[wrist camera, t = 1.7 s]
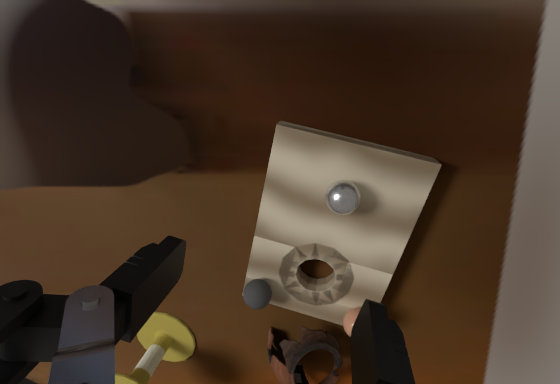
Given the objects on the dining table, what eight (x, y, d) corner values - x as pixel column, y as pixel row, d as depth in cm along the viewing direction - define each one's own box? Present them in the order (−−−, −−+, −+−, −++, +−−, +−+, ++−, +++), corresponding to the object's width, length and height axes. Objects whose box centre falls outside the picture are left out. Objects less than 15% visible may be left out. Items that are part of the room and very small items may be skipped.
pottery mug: (264, 307, 42) (282, 343, 34) (325, 301, 45) (354, 333, 37) (259, 385, 44) (275, 436, 36) (318, 374, 47) (345, 420, 39)
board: (281, 120, 32) (276, 124, 29) (434, 157, 30) (441, 164, 28) (247, 282, 40) (242, 295, 38) (365, 317, 39) (367, 332, 37)
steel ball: (330, 171, 30) (329, 182, 27) (363, 180, 30) (366, 192, 27) (321, 201, 31) (319, 215, 28) (353, 209, 31) (355, 225, 28)
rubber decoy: (250, 269, 36) (241, 288, 33) (277, 277, 36) (271, 296, 33) (245, 291, 38) (237, 310, 35) (271, 298, 37) (265, 319, 34)
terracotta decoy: (347, 298, 35) (348, 319, 32) (375, 306, 35) (379, 329, 32) (339, 319, 37) (339, 341, 34) (366, 327, 36) (369, 351, 33)
